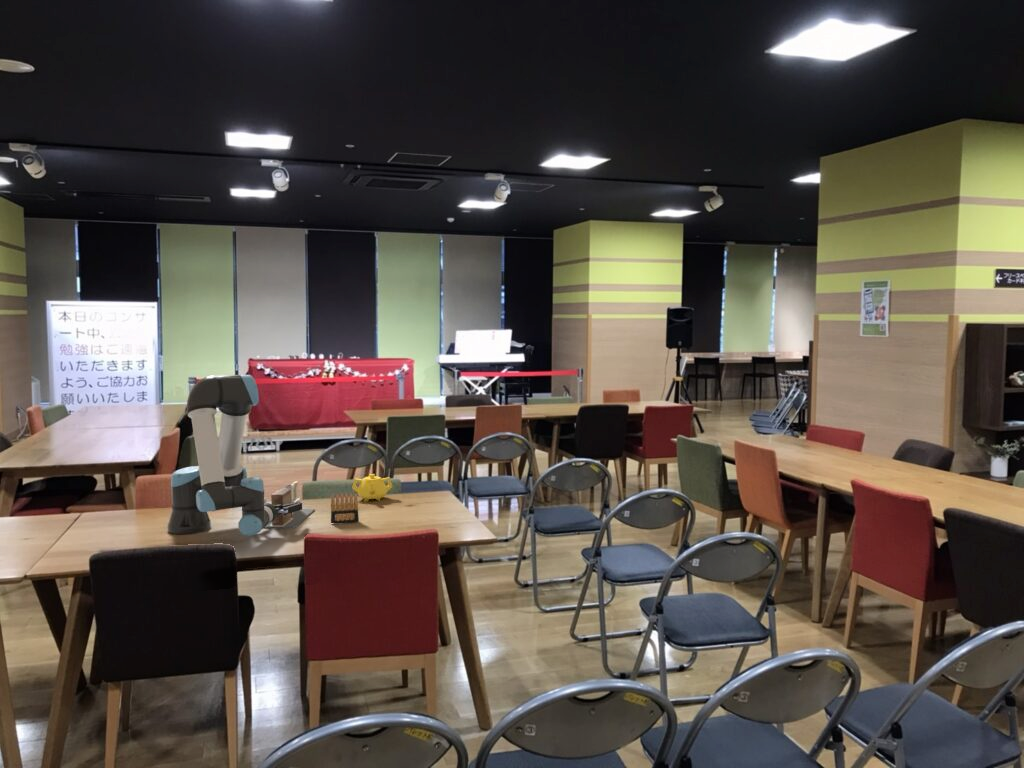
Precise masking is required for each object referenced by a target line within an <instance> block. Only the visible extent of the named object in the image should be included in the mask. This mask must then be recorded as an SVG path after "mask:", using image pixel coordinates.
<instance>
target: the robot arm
mask: <svg viewBox="0 0 1024 768" xmlns="http://www.w3.org/2000/svg"><path fill="white" fill-rule="evenodd" d="M258 389H259V388H258V385H257V382H256V380H255V377H254V376H252V375H251V374H240V373H239V374H231V375H230V374H229V375H228V374H227V375H225V374H224V375H208V376H205V377H202V378H201V379H200V380H198V381H197V382H196V383H195V384H194V385H193V387H192V388H191V389H190V392H189V394H188V398H187V401H186V412H187V413H186V414H187V417H188V418H190V419H191V425H192V431H193V437H194V444H195V445H194V446H195V452H196V458H197V463H198V465H196V466H195V465H194V466H193V465H192V466H187V467H182V468H180V469H177V470H175V471H174V472H172V474H171V476H170V488H171V493H170V494H171V513H170V517H169V521H168V523H167V532H168V533H170V534H173V535H188V534H195V533H196V534H198V533H201V531H202V532H205V531H207V530H209V529H210V528H212V527H211V526H212V524H211V519H210V516H209V514H208V513H209V512H217V511H222V510H229V509H237V508H241V518H240V519H239V521H238V525H237V527H238V530H239V532H240V533H241V534H242V535H244V536H247V537H252V536H255V535H257V534H258V533H261V532H262V530H263V529H265V528H264V527H266V526H267V525H268V524H269V523H271V522H272V521H273V520H274V519H275V518H276V516H277V515H279V514H282V513H284V515H287V514H289V513H292V512H295V511H299V510H302V509H303V502H301V500H302V499H301V497H299V498H298V499H297V500H295V501H294V503H291V504H286V505H280V504H279V505H272V503H270V502H267V497H265V484H264V480H263V478H261V477H256V476H254V477H253V476H250V477H248V474H247V469H246V467H245V466H244V465H243V463H242V462H241V455H242V448H243V440H244V433H245V426H246V417H247V415H249V414H250V413H251V411H252V407H255V406H257V405H258V404H259V397H260V396H259V390H258ZM217 409H218V411H219V412H220V413H221V417H220V425H219V433H218V431H217V430H218V429H217V423H216V418H215V417H216V416H215V415H216V414H217V412H218V411H217ZM278 507H279V508H278ZM204 530H205V531H204Z"/></svg>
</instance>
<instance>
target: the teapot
mask: <svg viewBox="0 0 1024 768" xmlns="http://www.w3.org/2000/svg"><path fill="white" fill-rule="evenodd" d="M368 475H369V476H365V477H364V478H354V480H353V483H352V486H351V489H352V490H353V491H355V492H356V493H357V496H359V497H360V498H361V499H364V500H363V502H369V500H375V501H376V500H380V499H382V498H384V497H385V496H386V494H387V493H388V491H390V489H392V488H393V487H394V485H393V484H392V481H391V478H390V476H387V477H383V478H382V477H381V476H377V475H376V474H375V473H369V474H368ZM385 481H387V485H386V484H385ZM358 482H359V486H357V483H358Z"/></svg>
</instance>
